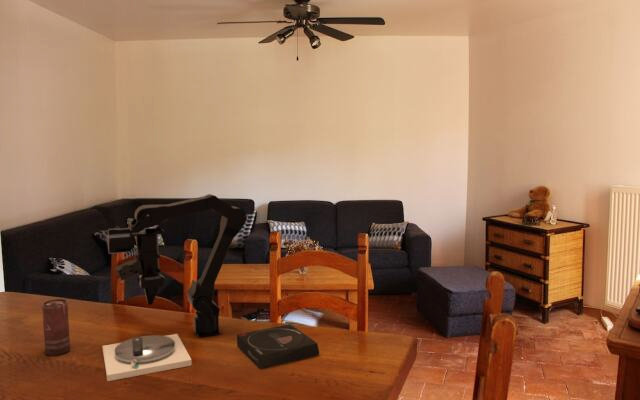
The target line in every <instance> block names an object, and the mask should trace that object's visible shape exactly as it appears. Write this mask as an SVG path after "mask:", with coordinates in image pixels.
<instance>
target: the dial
mask: <svg viewBox="0 0 640 400" xmlns="http://www.w3.org/2000/svg"><path fill="white" fill-rule="evenodd" d="M166 336H167V335H158V334H156V335H155V334H154V335H153V334H152V335H143V336H135V337H133V338H129V339H127V340H125V341H122V342H119V343H120V344H119V345H118V346H117V347H116V348H115V358H116V359H117V360H118V361H121V362H124V363H131V365H135V364H139V363H148V362H153V361H157V360H160V359H163V358H165V357H167V356H169V355H170V354H172V353H173V352H174V350H175V342H174V340H173V339H171V338H169V337H166Z"/></svg>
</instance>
